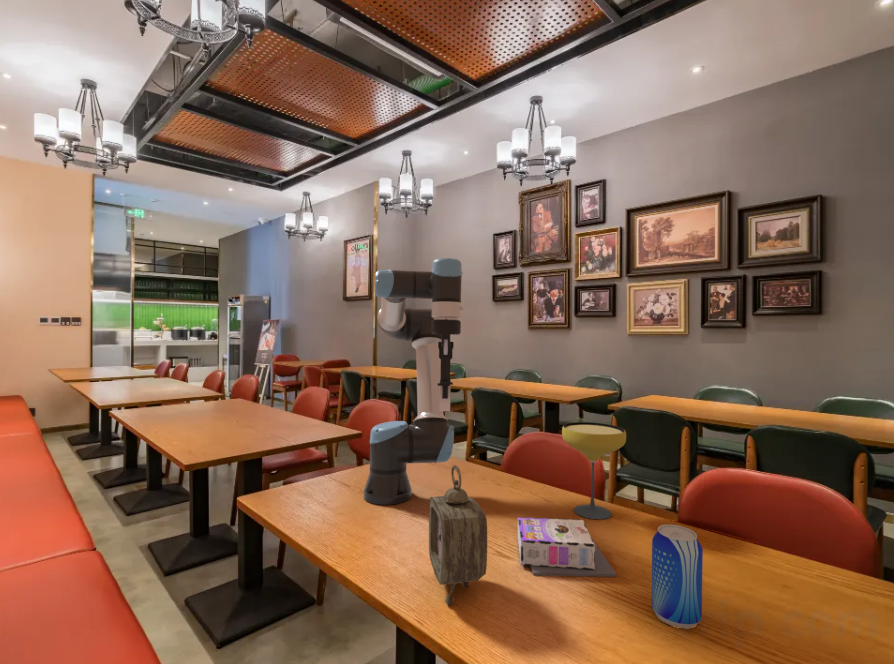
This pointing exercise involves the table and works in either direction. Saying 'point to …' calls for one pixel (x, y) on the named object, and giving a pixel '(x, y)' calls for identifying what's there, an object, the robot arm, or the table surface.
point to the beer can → (677, 576)
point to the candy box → (555, 543)
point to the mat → (600, 569)
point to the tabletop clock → (457, 537)
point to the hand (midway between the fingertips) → (444, 410)
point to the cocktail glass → (593, 453)
